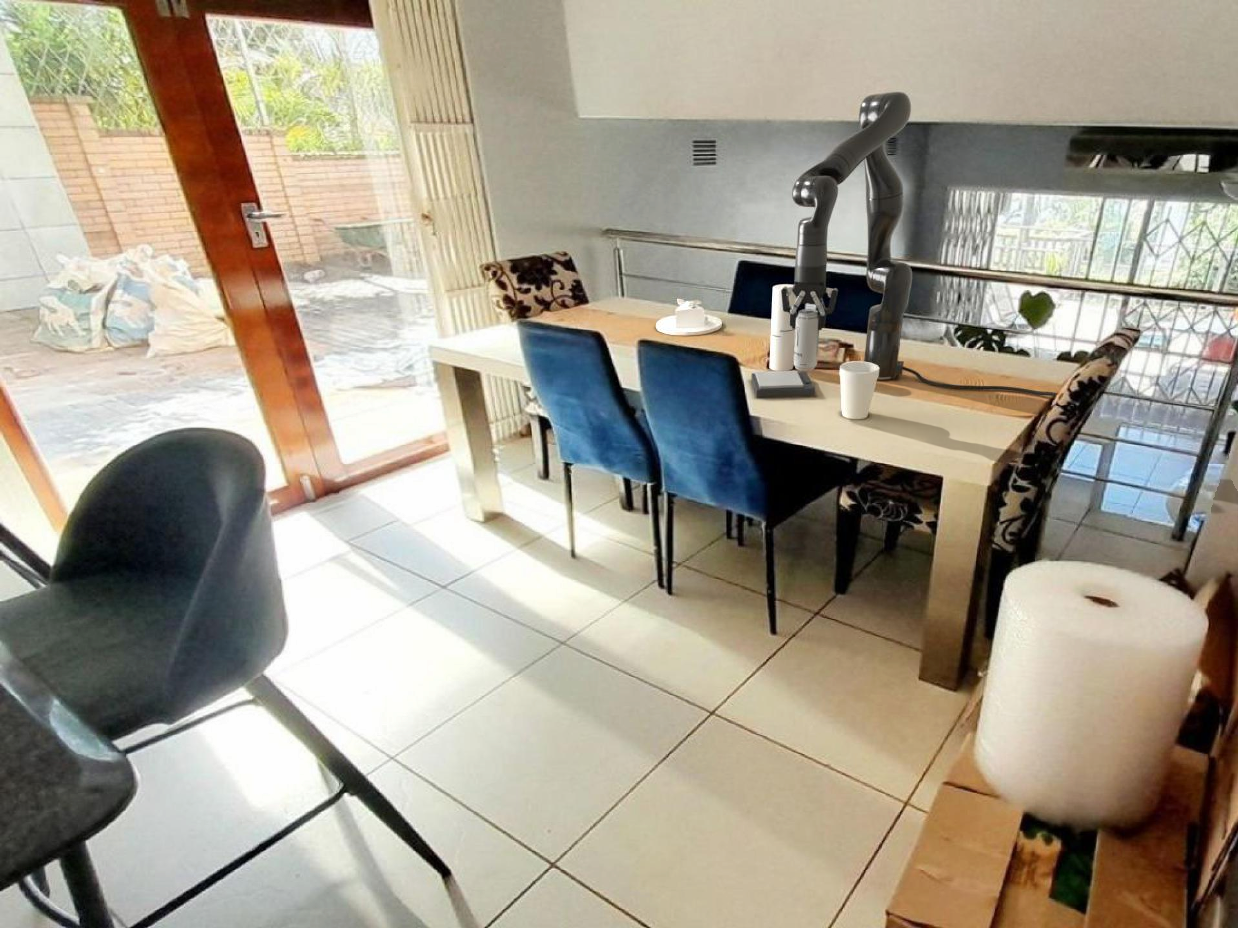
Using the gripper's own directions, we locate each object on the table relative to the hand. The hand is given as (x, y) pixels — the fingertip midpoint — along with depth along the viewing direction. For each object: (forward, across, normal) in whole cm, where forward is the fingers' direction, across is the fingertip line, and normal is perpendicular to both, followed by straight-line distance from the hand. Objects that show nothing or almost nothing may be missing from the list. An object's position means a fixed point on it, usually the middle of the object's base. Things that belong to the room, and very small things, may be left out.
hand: (807, 328), depth 181 cm
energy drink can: (+11, 0, 0) cm, 11 cm away
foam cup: (+22, +14, -2) cm, 26 cm away
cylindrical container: (+22, -12, +30) cm, 39 cm away
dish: (+22, -55, +68) cm, 90 cm away
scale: (+22, -8, +12) cm, 26 cm away
